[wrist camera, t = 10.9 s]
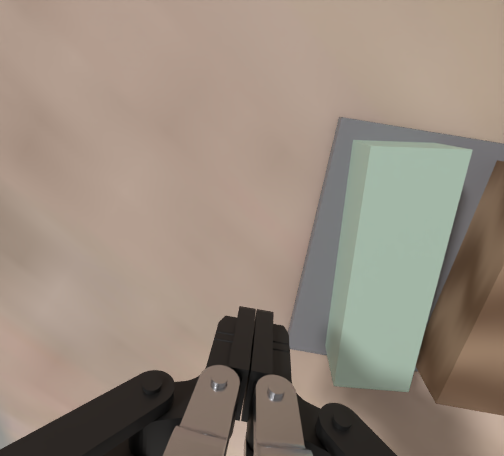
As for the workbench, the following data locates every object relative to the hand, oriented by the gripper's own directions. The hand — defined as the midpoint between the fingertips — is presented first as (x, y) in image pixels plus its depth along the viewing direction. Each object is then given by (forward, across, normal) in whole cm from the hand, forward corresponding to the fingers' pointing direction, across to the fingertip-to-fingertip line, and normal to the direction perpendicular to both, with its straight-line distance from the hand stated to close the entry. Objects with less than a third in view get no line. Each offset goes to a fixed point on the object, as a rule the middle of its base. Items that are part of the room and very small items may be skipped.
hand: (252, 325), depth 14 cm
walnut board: (+10, -16, 0) cm, 19 cm away
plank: (+10, -8, 0) cm, 12 cm away
